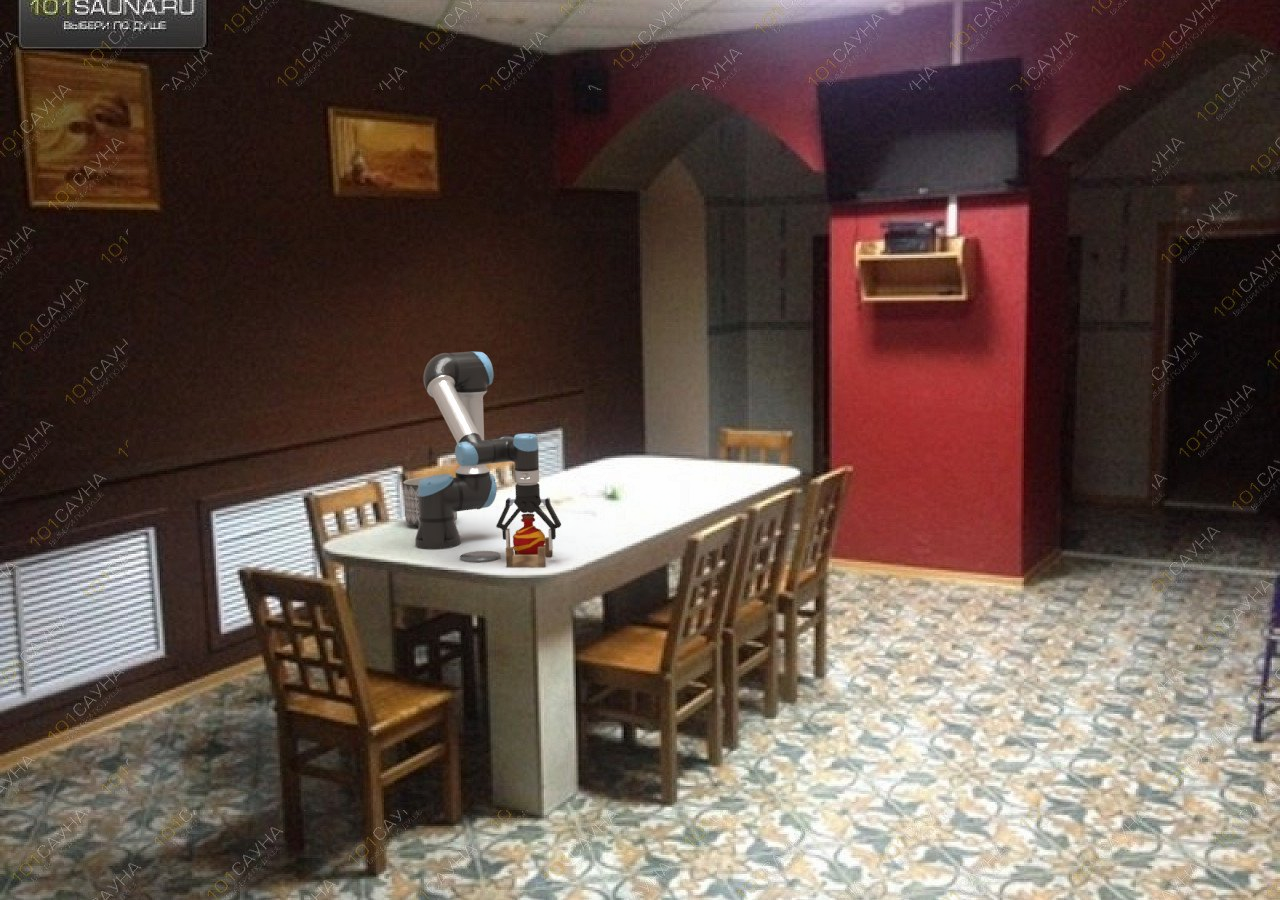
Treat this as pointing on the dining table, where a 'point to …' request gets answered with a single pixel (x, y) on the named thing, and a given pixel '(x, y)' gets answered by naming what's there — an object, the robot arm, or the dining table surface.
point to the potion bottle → (528, 537)
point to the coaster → (480, 556)
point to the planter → (413, 501)
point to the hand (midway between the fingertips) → (529, 549)
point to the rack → (528, 557)
